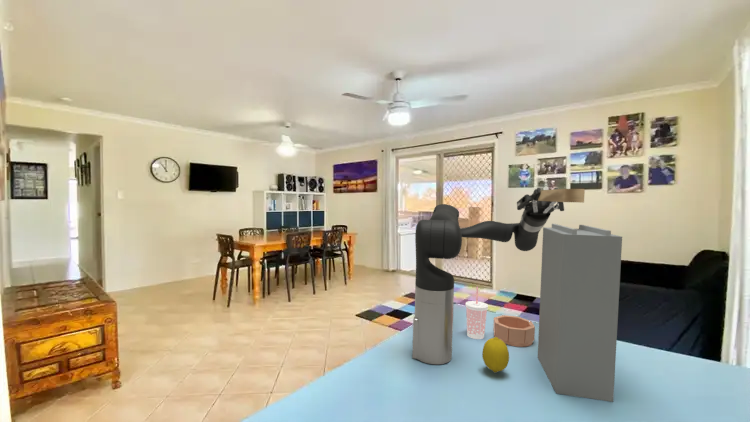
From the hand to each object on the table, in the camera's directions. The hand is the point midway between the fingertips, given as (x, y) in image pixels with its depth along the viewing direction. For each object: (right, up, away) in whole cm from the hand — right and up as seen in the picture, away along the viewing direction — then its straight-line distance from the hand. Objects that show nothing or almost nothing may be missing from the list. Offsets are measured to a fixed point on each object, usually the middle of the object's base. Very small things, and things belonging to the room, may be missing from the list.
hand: (548, 190), depth 93 cm
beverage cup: (-21, -41, -1) cm, 46 cm away
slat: (-2, -3, -8) cm, 9 cm away
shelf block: (-7, -42, -22) cm, 48 cm away
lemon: (-23, -42, -21) cm, 52 cm away
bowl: (-11, -41, -3) cm, 43 cm away
